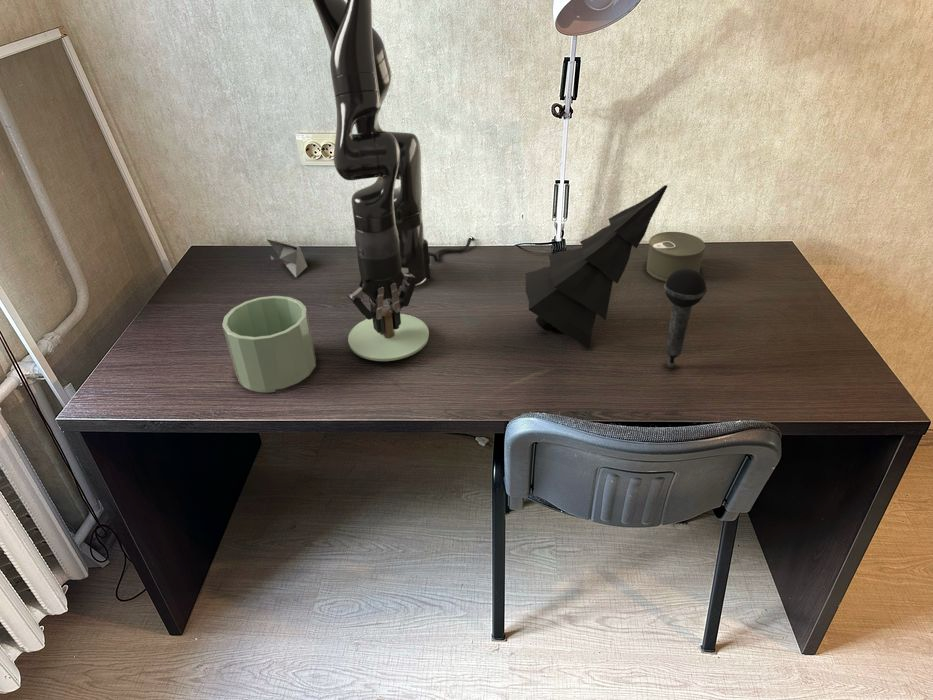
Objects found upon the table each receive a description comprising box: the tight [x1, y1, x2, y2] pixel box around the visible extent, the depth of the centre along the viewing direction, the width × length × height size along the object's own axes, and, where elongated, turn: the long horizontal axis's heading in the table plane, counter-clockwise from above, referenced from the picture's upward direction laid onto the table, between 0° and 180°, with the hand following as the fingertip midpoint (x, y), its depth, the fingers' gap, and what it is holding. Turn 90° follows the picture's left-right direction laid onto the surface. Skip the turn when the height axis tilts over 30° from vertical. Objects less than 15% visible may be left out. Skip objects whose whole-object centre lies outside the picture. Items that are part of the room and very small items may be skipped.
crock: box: [221, 295, 317, 394], centre depth 122 cm, size 14×14×12 cm
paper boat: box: [266, 239, 308, 278], centre depth 157 cm, size 12×6×9 cm
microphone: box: [663, 268, 708, 369], centre depth 116 cm, size 7×7×20 cm
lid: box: [347, 309, 430, 362], centre depth 127 cm, size 15×15×6 cm
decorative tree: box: [525, 184, 668, 349], centre depth 125 cm, size 15×15×35 cm
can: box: [646, 231, 706, 282], centre depth 150 cm, size 12×12×7 cm
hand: (387, 329), depth 127 cm, fingers closed on lid, 2 cm apart
